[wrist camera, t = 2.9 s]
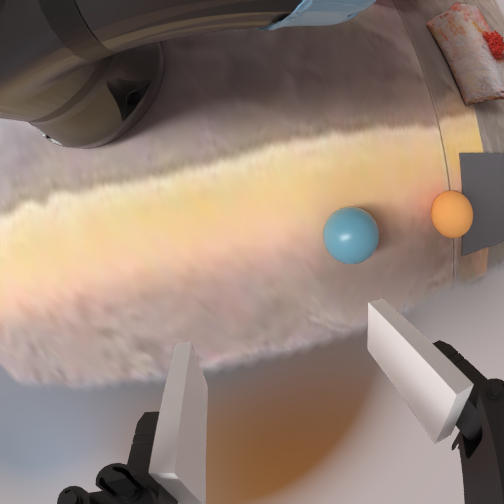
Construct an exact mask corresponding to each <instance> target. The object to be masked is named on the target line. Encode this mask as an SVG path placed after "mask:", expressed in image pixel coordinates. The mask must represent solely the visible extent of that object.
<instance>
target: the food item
mask: <svg viewBox="0 0 504 504" xmlns="http://www.w3.org/2000/svg"><path fill="white" fill-rule="evenodd" d="M426 25H427V27H428V28H429V30H430V31H431V33H432V35H433V36H434V38H435V39H436V41H437V43H438V45H439V46H440V48H441V50H442V52H443V54H444V56H445V58H446V60H447V62H448V64H449V66H450V69H451V71H452V73H453V76H454V78H455V80H456V82H457V84H458V86H459V89H460V91H461V94H462V97H463V100H464V102H465V105H468V104H469V105H470V104H473V103H478V102H481V103H483V102H484V101H488V100H497V99H503V100H504V42H503V41H504V40H503V37H501V36H500V35H499V34H498V33H497V32H496V31H494V32H493V30H492V28H491V27H490V25H489V24H488V23H487V22H486V20H485V18H484V17H483V15H482V13H481V12H480V10H479V9H478V8H477V7H475V6H472V5H470V4H467V3H460V2H456V3H454V4H453V5H452V6H451V7H450V8H449V10H448V11H447V12H444V13H441V14H439V15H437V16H435V17H434V18H432V19H431V20H430V21H428V23H427V24H426ZM478 104H480V103H478Z"/></svg>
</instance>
